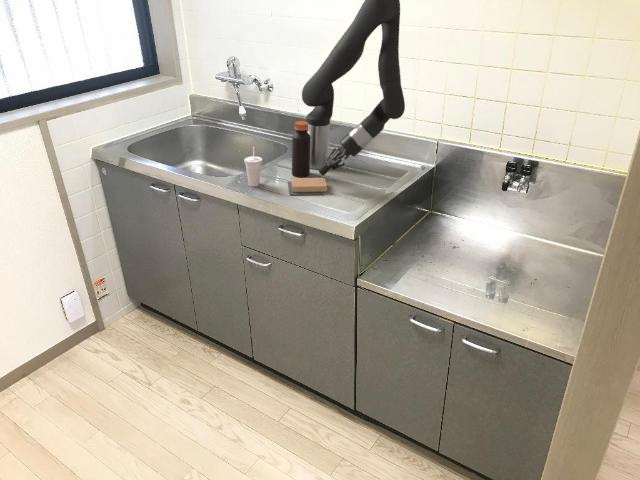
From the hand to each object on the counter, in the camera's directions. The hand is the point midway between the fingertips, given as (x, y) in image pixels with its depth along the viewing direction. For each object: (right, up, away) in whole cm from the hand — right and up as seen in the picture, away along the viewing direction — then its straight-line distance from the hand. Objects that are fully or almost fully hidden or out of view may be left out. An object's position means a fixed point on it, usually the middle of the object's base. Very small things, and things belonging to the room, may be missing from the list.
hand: (320, 173), depth 190 cm
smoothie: (-24, -4, +4) cm, 25 cm away
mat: (-6, -5, +2) cm, 8 cm away
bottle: (-8, +1, +15) cm, 17 cm away
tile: (+2, -4, +2) cm, 5 cm away
